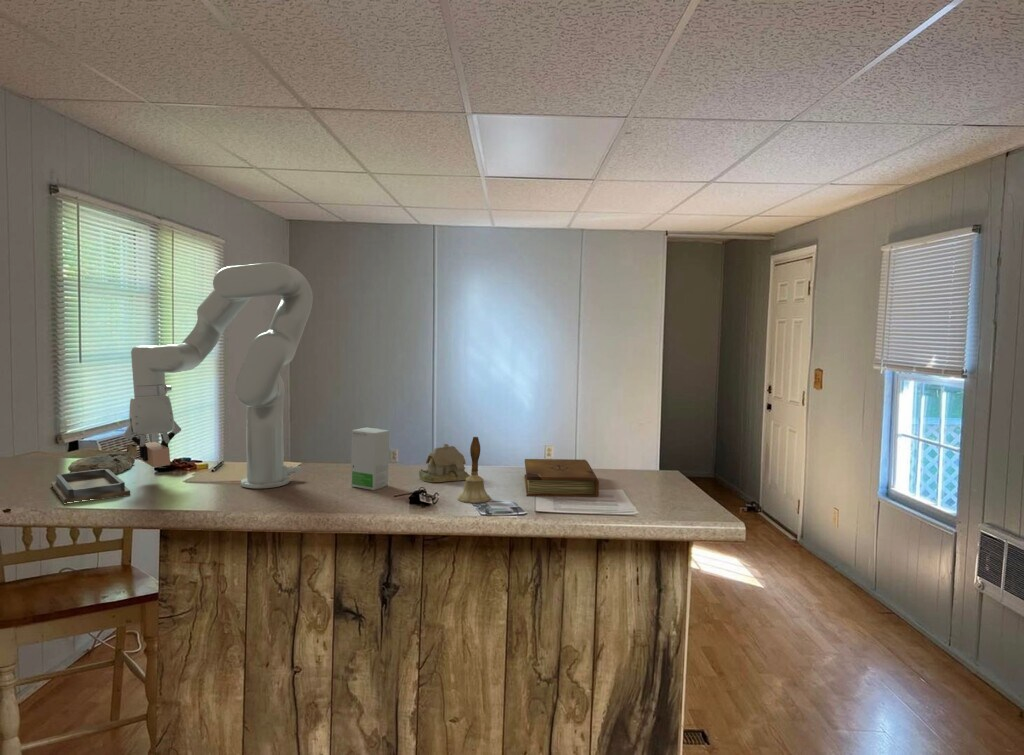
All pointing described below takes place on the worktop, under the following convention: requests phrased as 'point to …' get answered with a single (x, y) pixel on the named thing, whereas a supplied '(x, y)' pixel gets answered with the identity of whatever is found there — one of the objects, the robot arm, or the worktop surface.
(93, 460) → the clay tablet
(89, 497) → the gray rectangular frame
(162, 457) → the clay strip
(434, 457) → the ceramic model
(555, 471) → the diary
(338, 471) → the worktop surface
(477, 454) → the hand bell
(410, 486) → the worktop surface
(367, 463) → the skincare box
